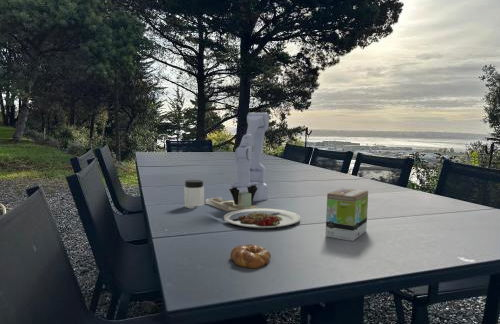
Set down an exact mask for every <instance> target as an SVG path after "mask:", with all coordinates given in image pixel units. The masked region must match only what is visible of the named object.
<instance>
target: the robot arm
mask: <svg viewBox="0 0 500 324" xmlns="http://www.w3.org/2000/svg"><path fill="white" fill-rule="evenodd" d="M246 123H247V129H246V134H244V135H243V136H242V138H241V141H240V144H239V146H238V147H237V148H236V149H235V151H234V158H235V162H236V178H237V179H236V182H234V183H229V184H228V186H227V187H228V189H229V192H230V194H231V196H232V199H233V200H234V204H236V205H237V204H238V195H239V192H240V189H242V188H247V192H248V193H251V204H253V202H260V201H266V200H269V187H268V185H267V183H266V182H267V176H268V175H267V168H266V167H265V166H264V165H263V164H262V161H263V152H264V142H265V135H266V134H265V133H266V132H267V131H268V130H269V126H270V125H269V124H270V119H269V113H268V112H265V111H264V112H248V114H247V116H246ZM250 162H251V163H250Z"/></svg>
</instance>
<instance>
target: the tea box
mask: <svg viewBox="0 0 500 324" xmlns="http://www.w3.org/2000/svg"><path fill="white" fill-rule="evenodd" d="M326 194H327V195H326V214H325V215H326V216H325V217H326V218H325V237H327V238H332V239H338V240H344V241H350V242H351V241H352V242H354V241H355V240H356V239H358V238H359V237H360V236H362V235H363V234H364V233H366V232H367V228H368V227H367V223H368V202H369V200H368V199H369V191H368V190H364V189H363V190H361V189H353V188H343V187H342V188H339V189H336V190H334V191H331V192H327V193H326Z"/></svg>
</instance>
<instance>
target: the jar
mask: <svg viewBox="0 0 500 324" xmlns="http://www.w3.org/2000/svg"><path fill="white" fill-rule="evenodd" d="M184 185H185V186H184V187H183V188H184V189H183V190H184V191H183V192H184V195H183V197H184V200H183V201H184V208H187V209H197V207H201V206H203V205H205V186H204V181H203V180H201V179H188V180H185V181H184Z"/></svg>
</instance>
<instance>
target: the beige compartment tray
mask: <svg viewBox="0 0 500 324" xmlns="http://www.w3.org/2000/svg"><path fill="white" fill-rule="evenodd" d="M205 204H207V205H210V206H212V207H214V208H217V209H220V210H223V211H225V212H232V211H236V210H242V209H257V206H256V205H252V204H251V207H241V206H238V205H236V204H234V200H223V197H214V198H205Z"/></svg>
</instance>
